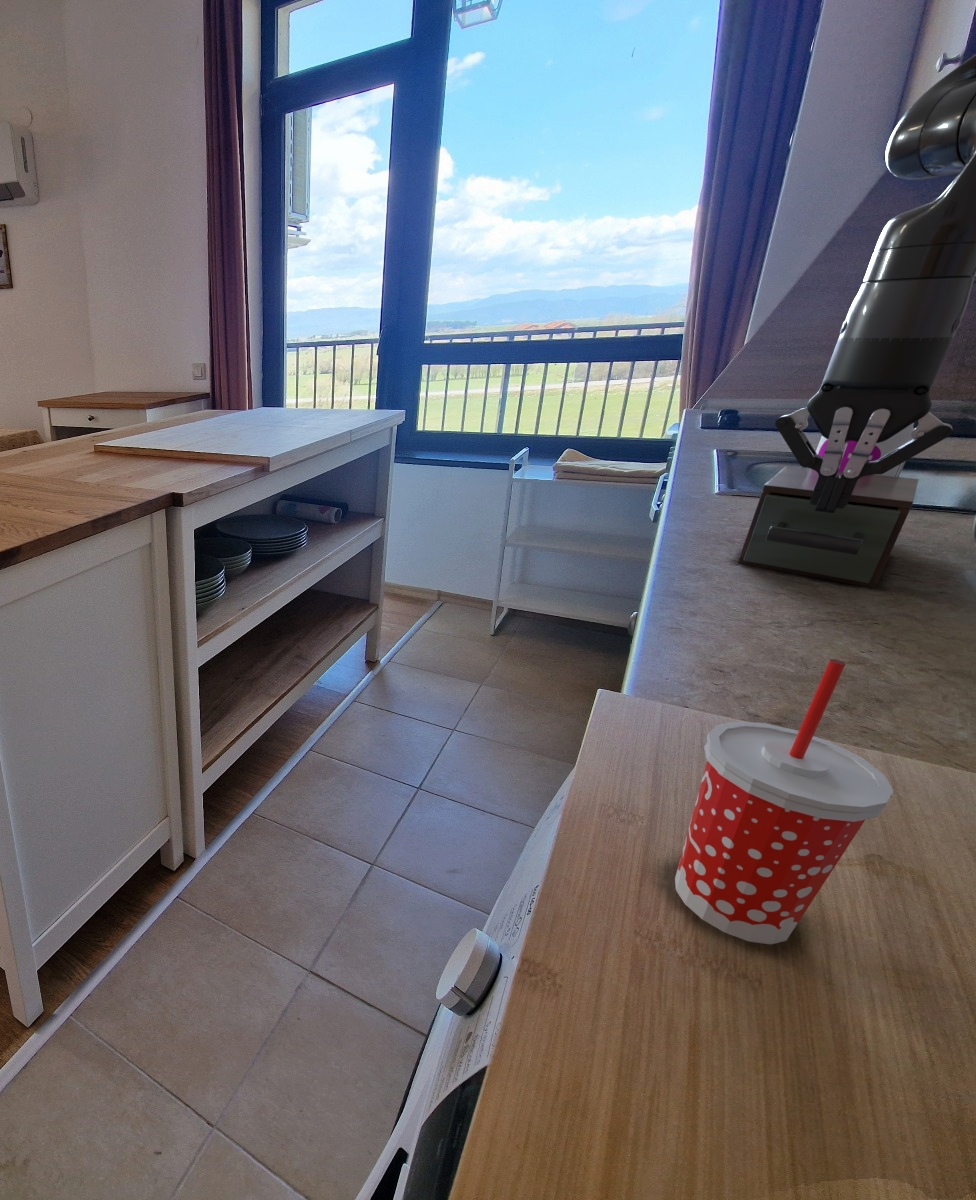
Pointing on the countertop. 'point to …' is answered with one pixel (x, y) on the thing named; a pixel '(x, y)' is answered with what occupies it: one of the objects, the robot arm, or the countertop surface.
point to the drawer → (821, 537)
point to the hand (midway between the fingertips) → (824, 510)
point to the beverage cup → (773, 821)
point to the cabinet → (866, 491)
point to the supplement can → (874, 450)
